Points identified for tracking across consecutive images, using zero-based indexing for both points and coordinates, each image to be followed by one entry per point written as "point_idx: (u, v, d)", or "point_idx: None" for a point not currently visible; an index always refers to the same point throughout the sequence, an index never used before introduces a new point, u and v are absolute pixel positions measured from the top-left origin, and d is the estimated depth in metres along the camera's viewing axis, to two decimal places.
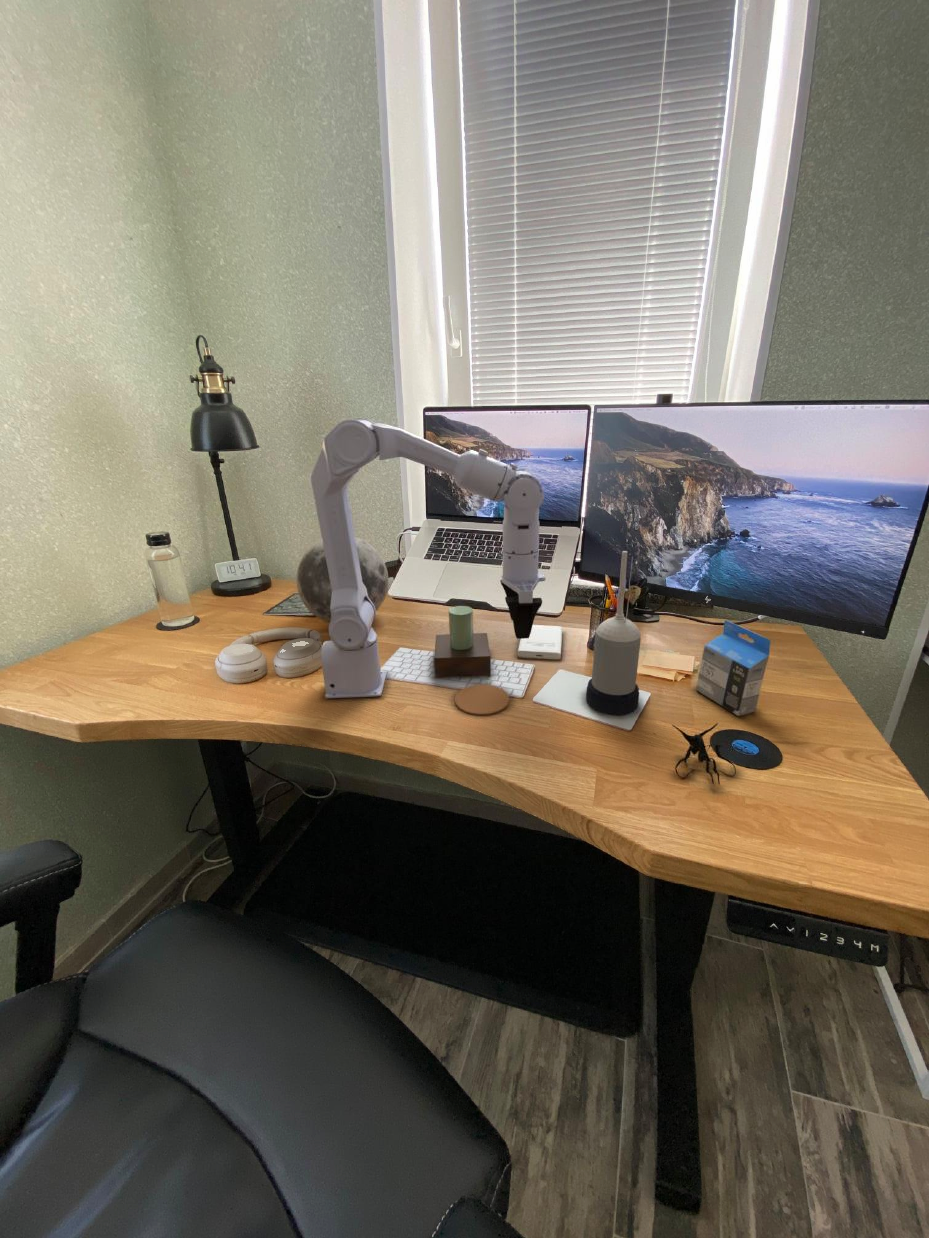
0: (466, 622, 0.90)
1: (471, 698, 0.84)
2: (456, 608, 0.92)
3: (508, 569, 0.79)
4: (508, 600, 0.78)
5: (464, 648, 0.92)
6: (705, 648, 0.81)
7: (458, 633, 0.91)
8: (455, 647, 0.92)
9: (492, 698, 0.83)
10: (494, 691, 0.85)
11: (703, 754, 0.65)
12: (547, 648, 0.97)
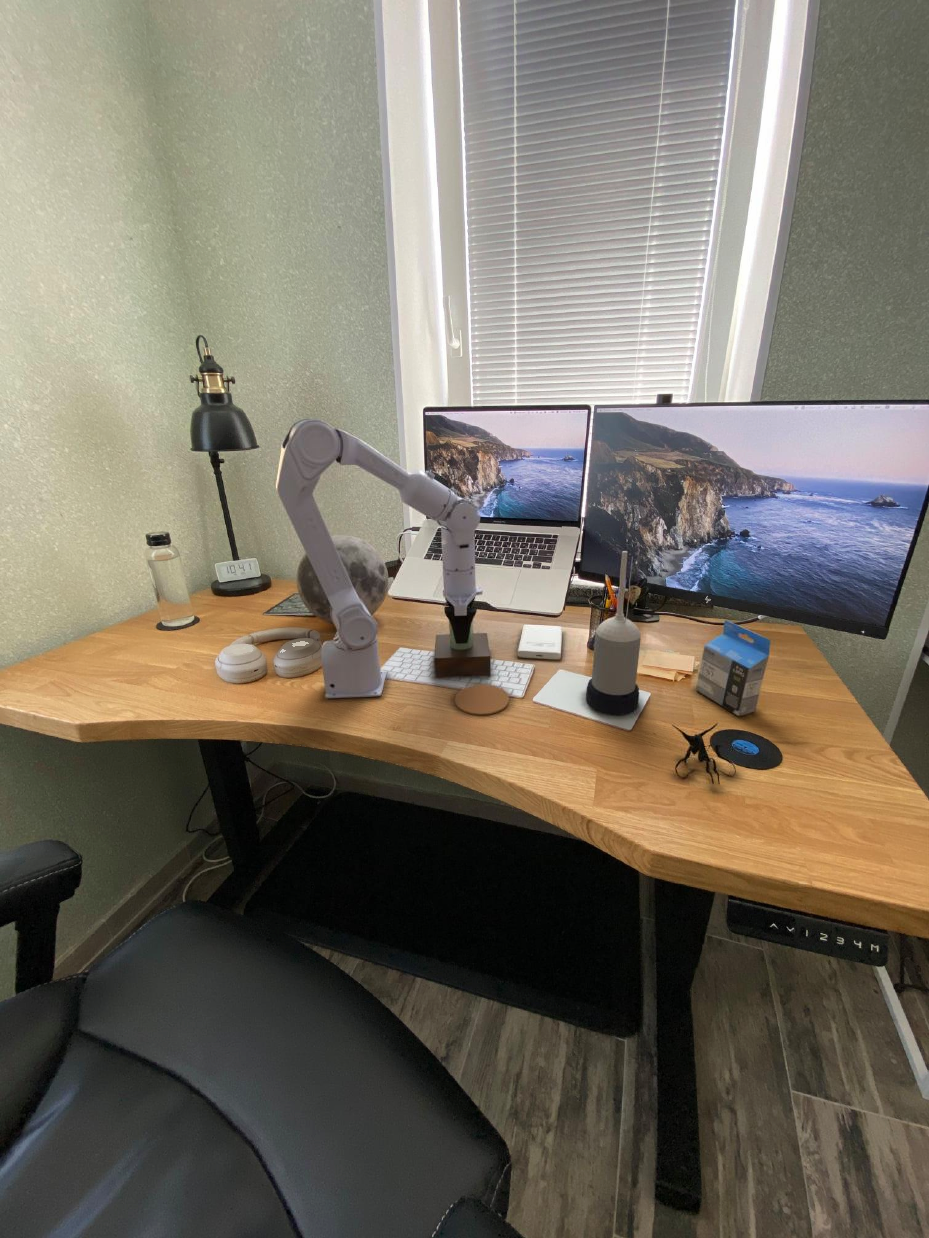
0: None
1: (471, 698, 0.84)
2: None
3: (447, 584, 0.87)
4: (446, 609, 0.87)
5: (464, 648, 0.92)
6: (705, 648, 0.81)
7: None
8: (455, 647, 0.92)
9: (492, 698, 0.83)
10: (494, 691, 0.85)
11: (703, 754, 0.65)
12: (547, 648, 0.97)
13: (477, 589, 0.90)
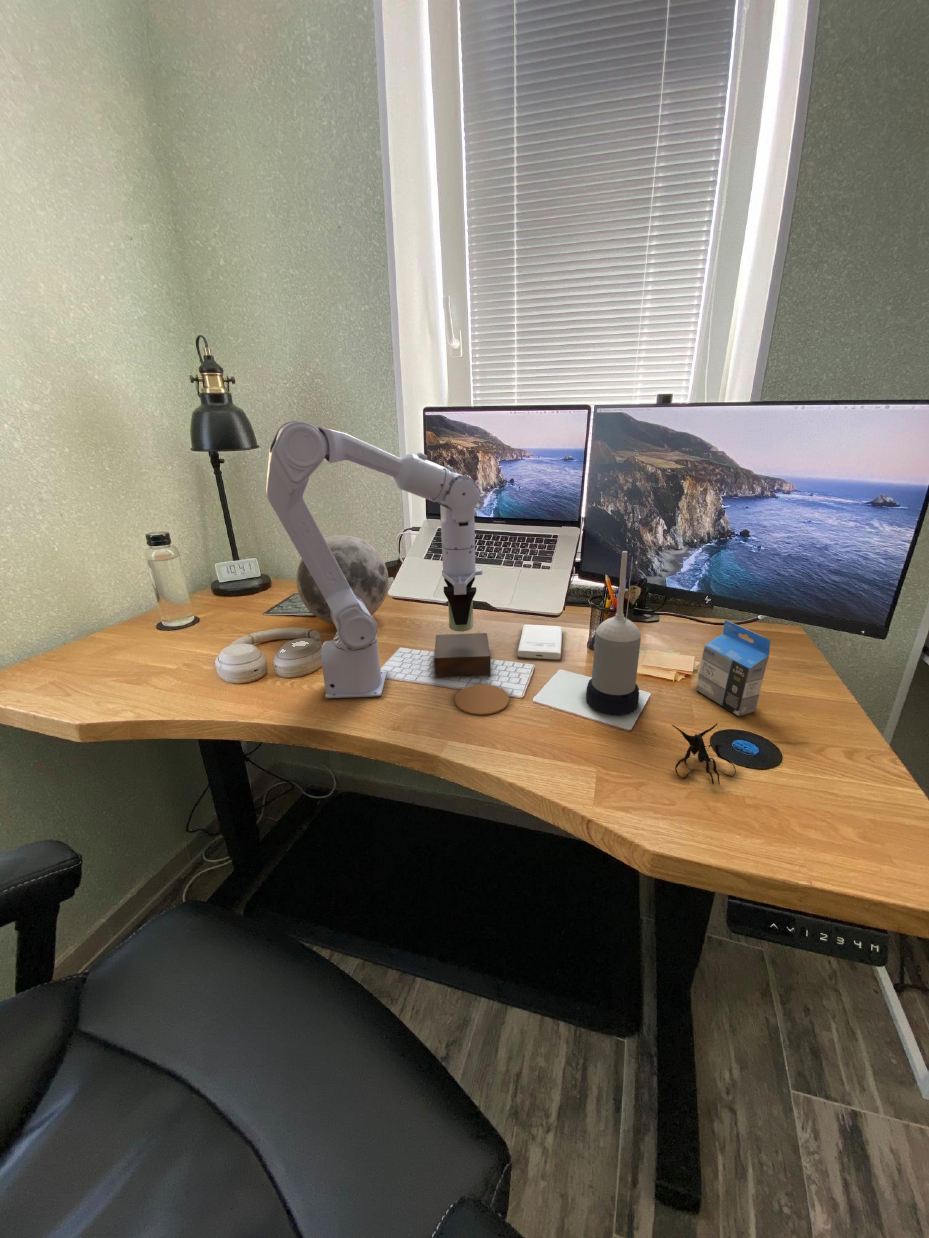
0: None
1: (471, 698, 0.84)
2: None
3: (446, 563, 0.86)
4: (445, 589, 0.85)
5: (463, 630, 0.90)
6: (705, 648, 0.81)
7: None
8: (454, 629, 0.91)
9: (492, 698, 0.83)
10: (494, 691, 0.85)
11: (703, 754, 0.65)
12: (547, 648, 0.97)
13: (477, 569, 0.88)
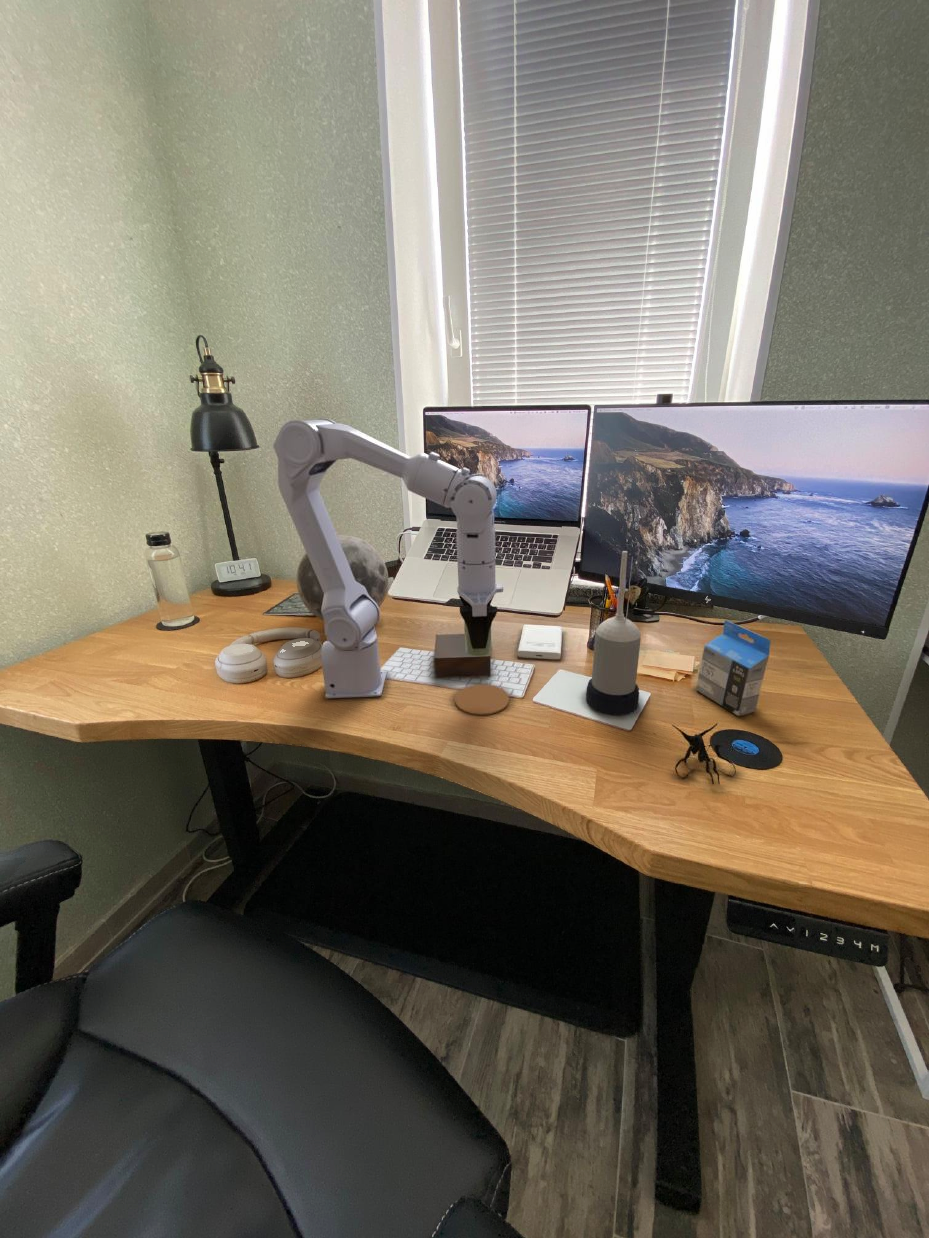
0: None
1: (471, 698, 0.84)
2: None
3: (463, 580, 0.75)
4: (462, 609, 0.75)
5: (482, 654, 0.80)
6: (705, 648, 0.81)
7: None
8: (471, 653, 0.80)
9: (492, 698, 0.83)
10: (494, 691, 0.85)
11: (703, 754, 0.65)
12: (547, 648, 0.97)
13: (497, 586, 0.78)
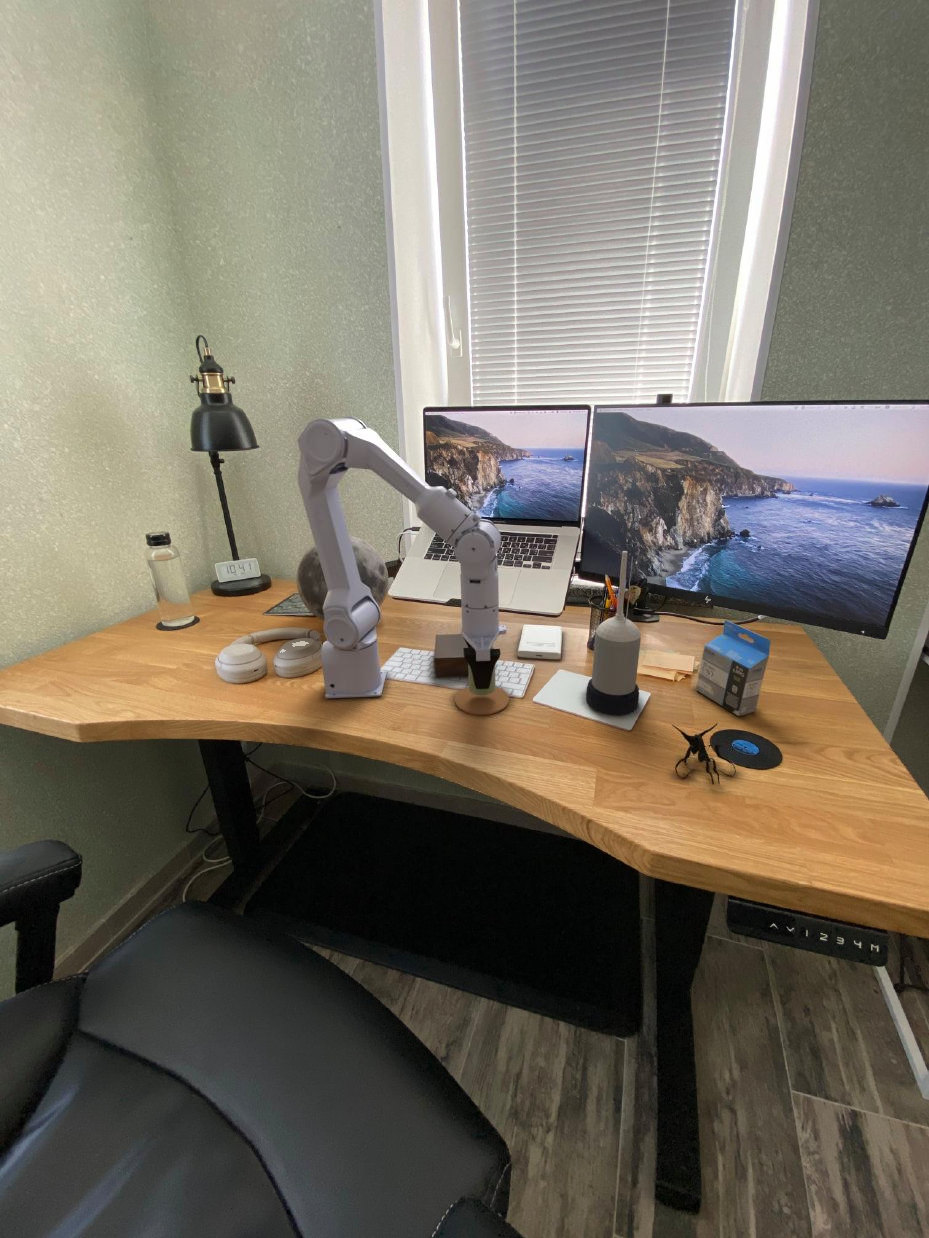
0: None
1: (471, 698, 0.84)
2: None
3: (466, 623, 0.76)
4: (465, 652, 0.76)
5: (485, 693, 0.81)
6: (705, 648, 0.81)
7: None
8: (475, 692, 0.81)
9: (492, 698, 0.83)
10: (494, 691, 0.85)
11: (703, 754, 0.65)
12: (547, 648, 0.97)
13: (500, 627, 0.79)
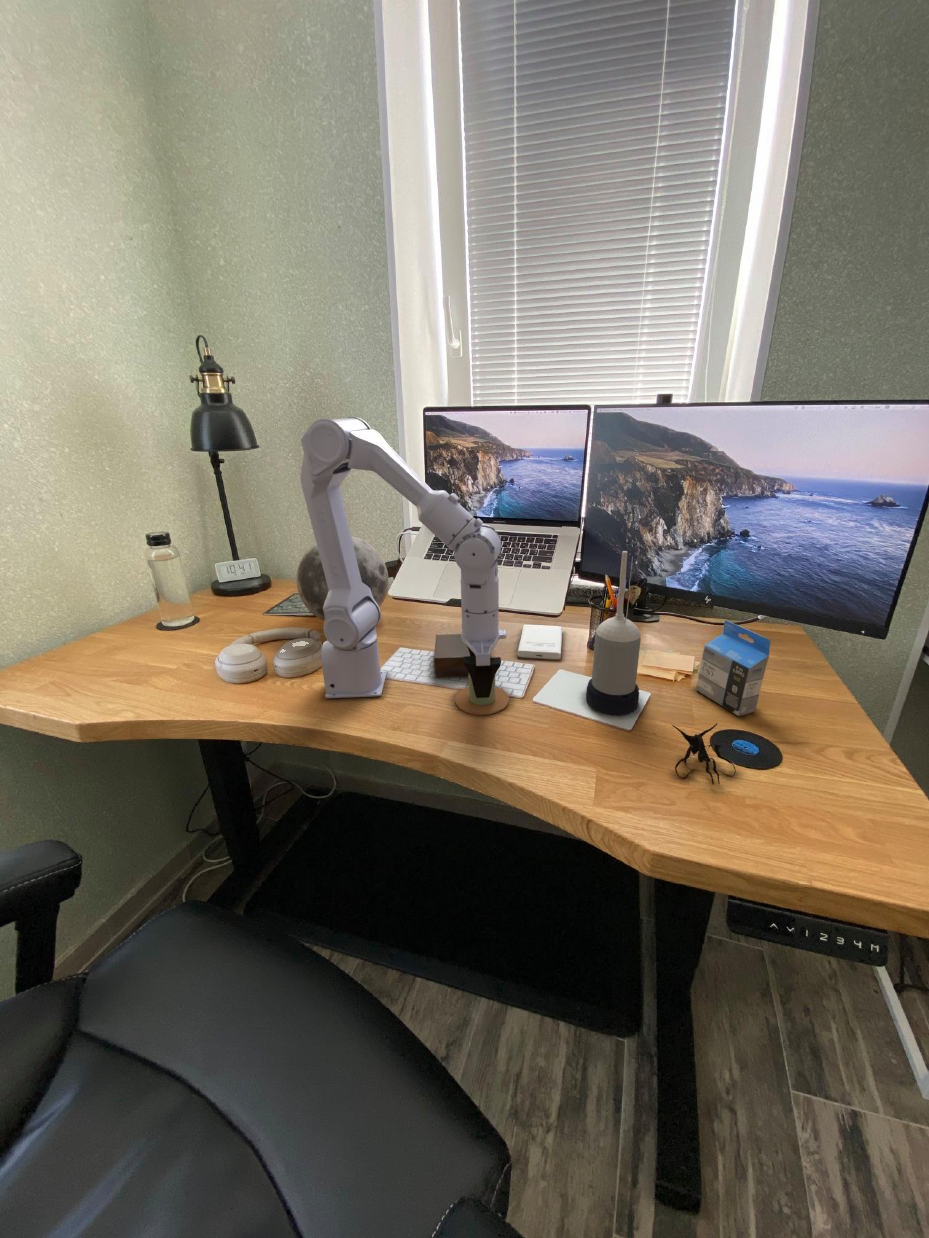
0: None
1: None
2: None
3: (466, 627, 0.76)
4: (466, 661, 0.75)
5: (485, 703, 0.81)
6: (705, 648, 0.81)
7: None
8: (475, 702, 0.82)
9: None
10: None
11: (703, 754, 0.65)
12: (547, 648, 0.97)
13: (500, 632, 0.79)
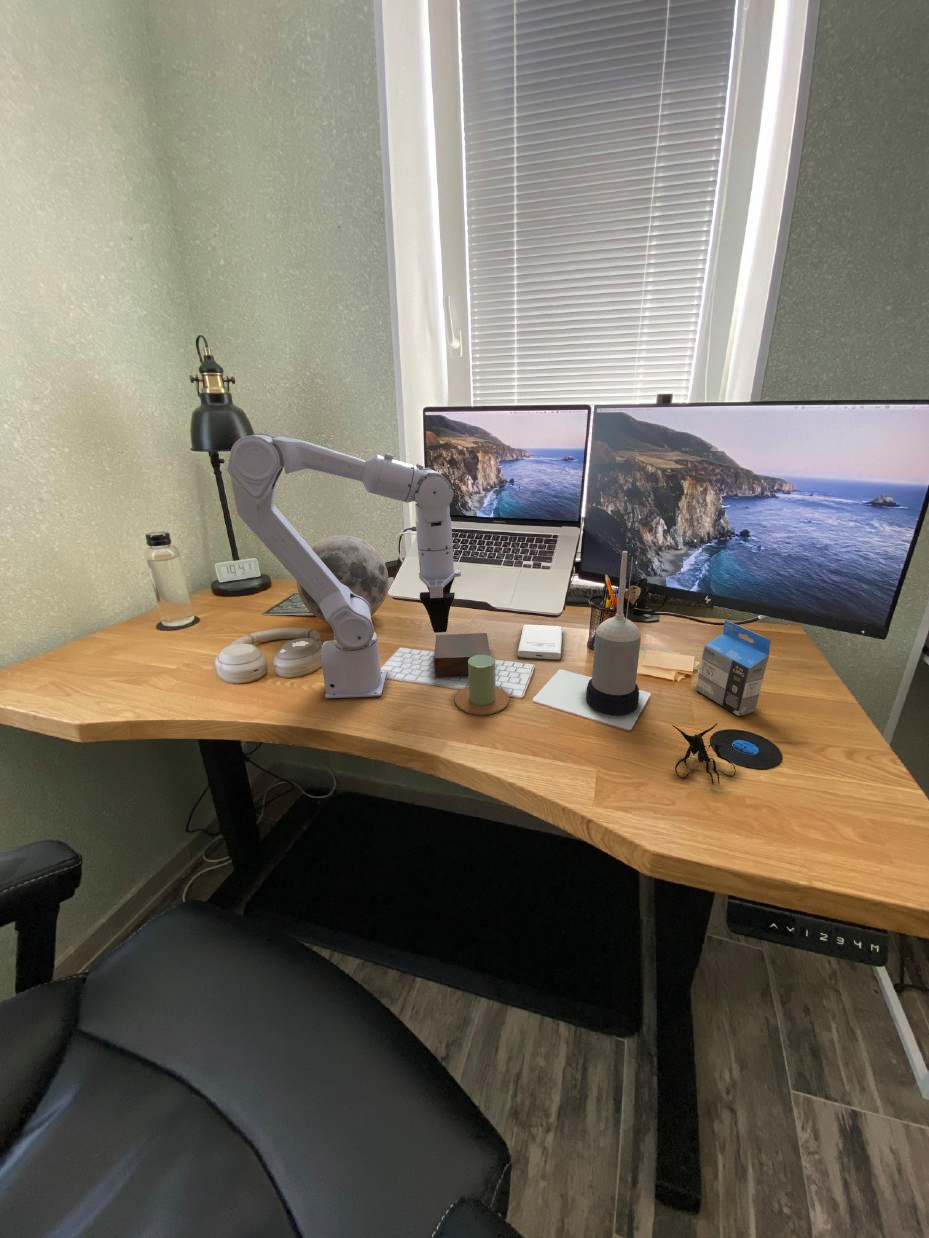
0: (488, 675, 0.80)
1: None
2: (476, 658, 0.82)
3: (422, 565, 0.82)
4: (421, 595, 0.80)
5: (485, 703, 0.81)
6: (705, 648, 0.81)
7: (479, 687, 0.80)
8: (475, 702, 0.82)
9: None
10: None
11: (703, 754, 0.65)
12: (547, 648, 0.97)
13: (455, 570, 0.84)
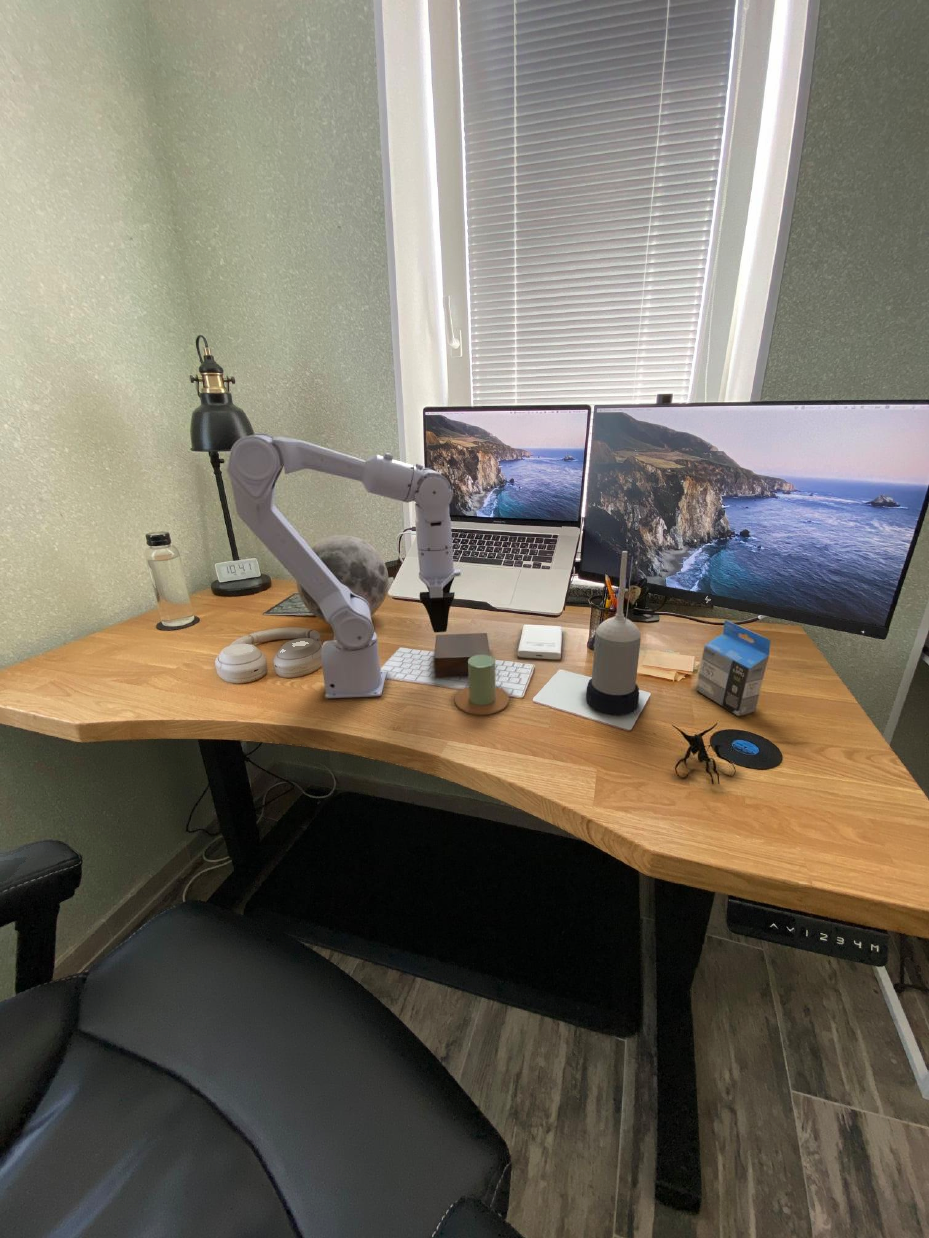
0: (488, 675, 0.80)
1: None
2: (476, 658, 0.82)
3: (422, 565, 0.82)
4: (421, 595, 0.80)
5: (485, 703, 0.81)
6: (705, 648, 0.81)
7: (479, 687, 0.80)
8: (475, 702, 0.82)
9: None
10: None
11: (703, 754, 0.65)
12: (547, 648, 0.97)
13: (455, 570, 0.84)
